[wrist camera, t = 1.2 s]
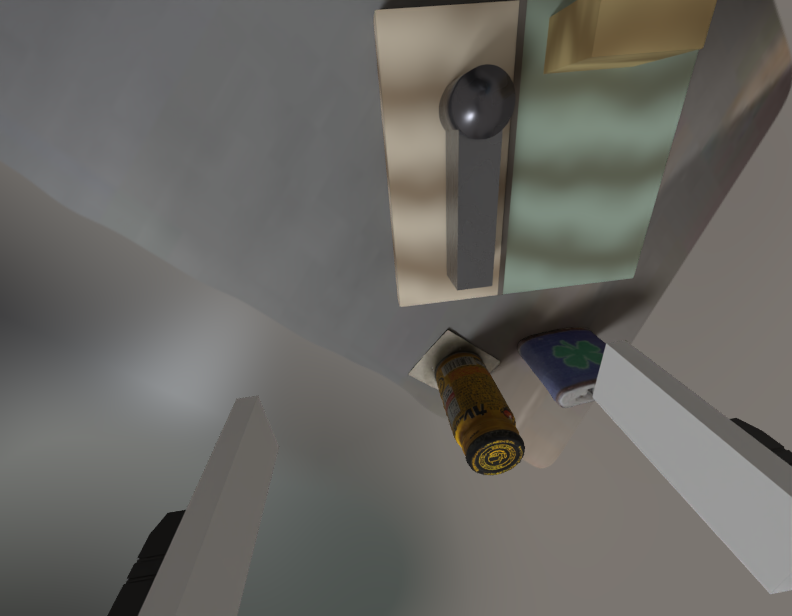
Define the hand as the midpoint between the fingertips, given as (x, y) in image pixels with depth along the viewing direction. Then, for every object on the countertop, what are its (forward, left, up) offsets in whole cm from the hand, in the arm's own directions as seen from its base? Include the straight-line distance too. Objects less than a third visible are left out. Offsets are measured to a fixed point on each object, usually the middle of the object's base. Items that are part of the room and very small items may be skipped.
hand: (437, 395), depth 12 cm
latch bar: (-5, +6, -18) cm, 20 cm away
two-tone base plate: (-5, +12, -20) cm, 24 cm away
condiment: (+16, +6, -21) cm, 27 cm away
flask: (+14, +18, -21) cm, 31 cm away
